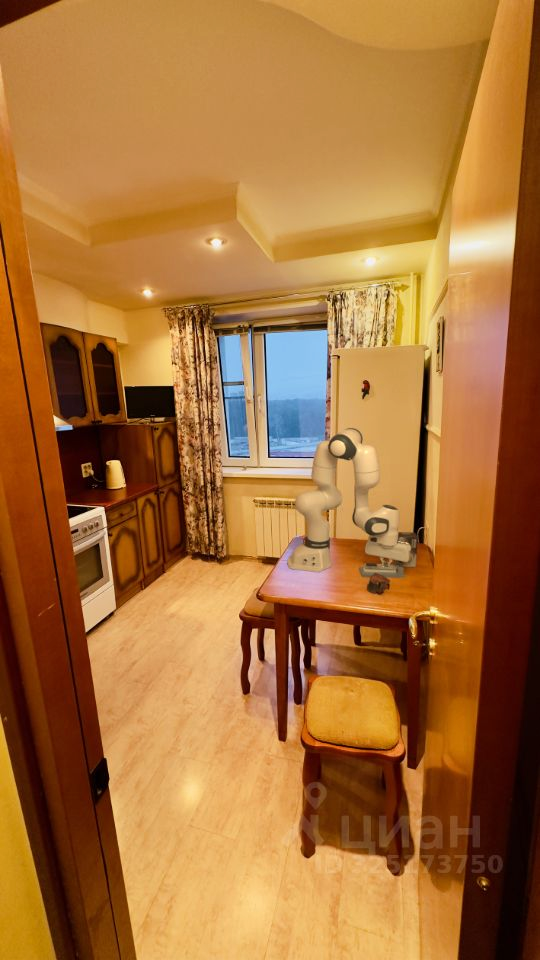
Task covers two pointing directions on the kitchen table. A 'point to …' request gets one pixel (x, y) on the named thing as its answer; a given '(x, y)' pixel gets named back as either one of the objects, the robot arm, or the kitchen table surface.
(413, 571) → the kitchen table surface
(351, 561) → the kitchen table surface
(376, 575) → the pottery mug
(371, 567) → the arm
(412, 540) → the coffee box
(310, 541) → the robot arm
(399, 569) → the base
